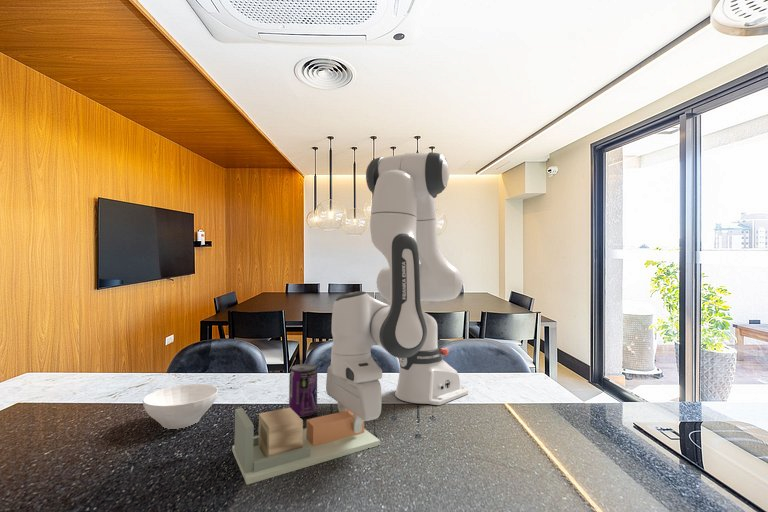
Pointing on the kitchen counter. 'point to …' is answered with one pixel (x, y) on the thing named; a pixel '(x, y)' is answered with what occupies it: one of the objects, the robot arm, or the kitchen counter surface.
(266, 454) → the block
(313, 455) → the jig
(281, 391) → the kitchen counter surface
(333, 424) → the rectangular bar
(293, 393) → the beverage can
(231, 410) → the kitchen counter surface
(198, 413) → the bowl
